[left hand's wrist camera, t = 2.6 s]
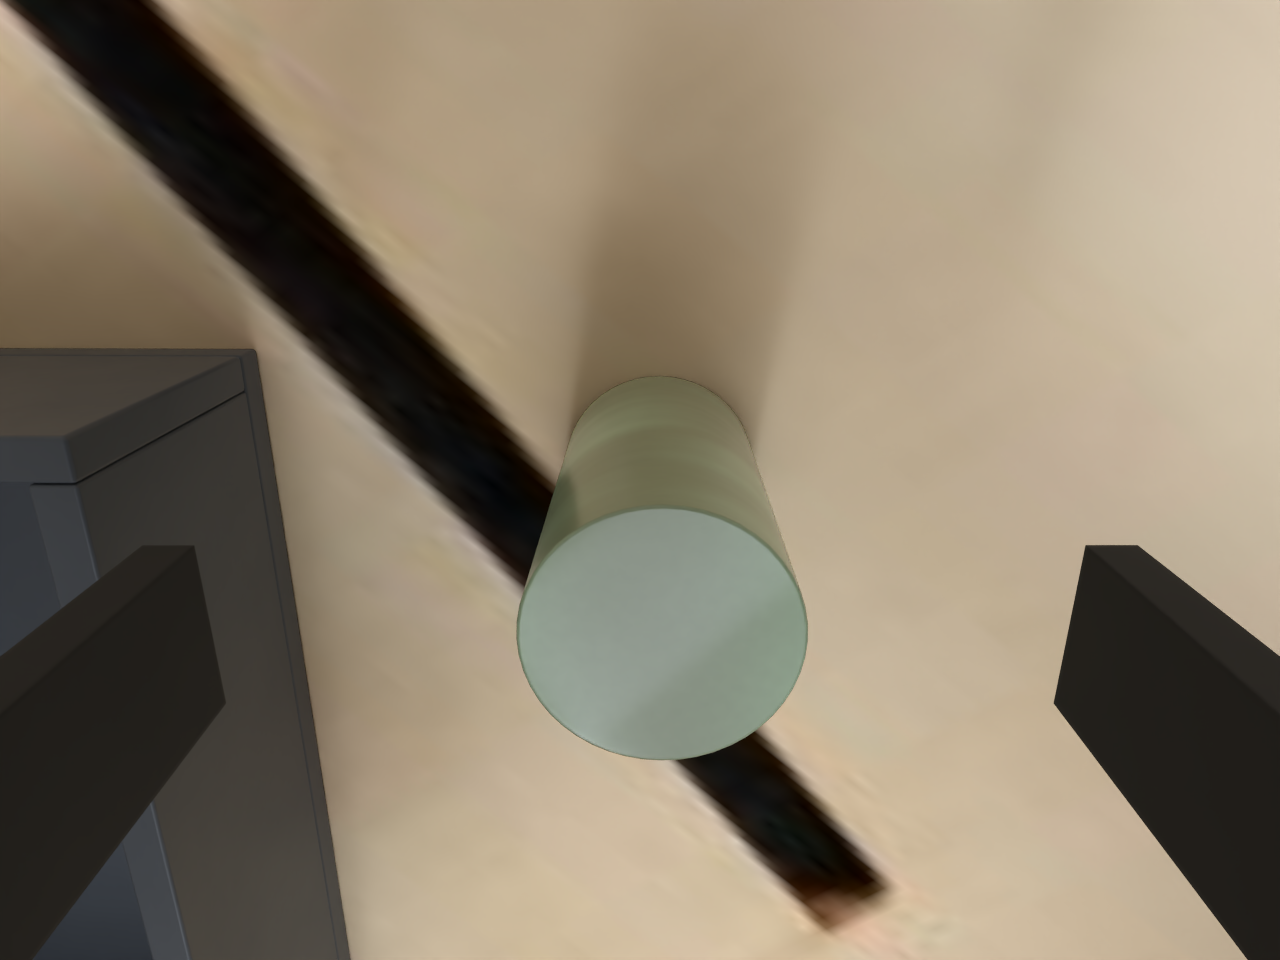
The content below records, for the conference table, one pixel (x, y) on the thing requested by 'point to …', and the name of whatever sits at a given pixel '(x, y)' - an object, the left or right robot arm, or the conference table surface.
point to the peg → (661, 580)
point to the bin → (241, 627)
